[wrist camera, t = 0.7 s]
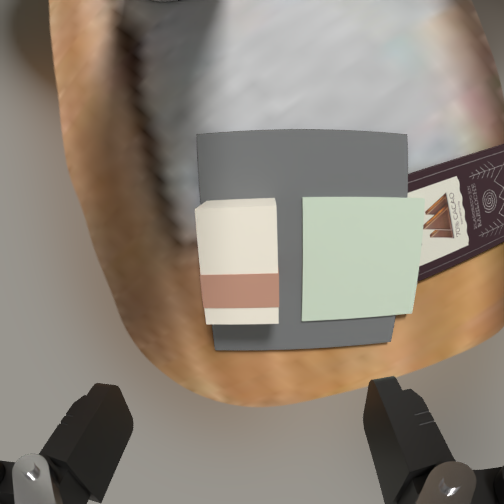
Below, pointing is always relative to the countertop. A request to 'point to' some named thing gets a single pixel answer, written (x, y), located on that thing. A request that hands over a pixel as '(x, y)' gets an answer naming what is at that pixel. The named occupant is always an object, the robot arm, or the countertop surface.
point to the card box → (239, 260)
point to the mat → (324, 231)
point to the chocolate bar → (460, 208)
